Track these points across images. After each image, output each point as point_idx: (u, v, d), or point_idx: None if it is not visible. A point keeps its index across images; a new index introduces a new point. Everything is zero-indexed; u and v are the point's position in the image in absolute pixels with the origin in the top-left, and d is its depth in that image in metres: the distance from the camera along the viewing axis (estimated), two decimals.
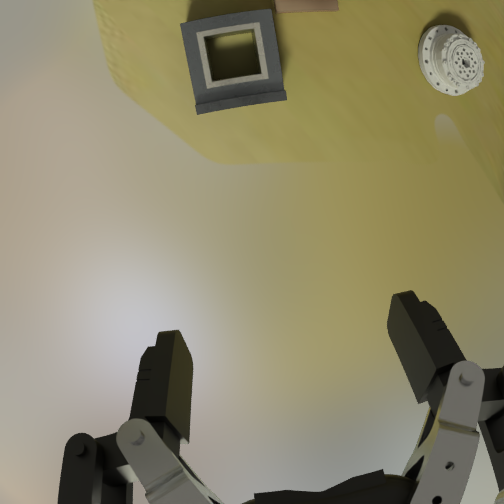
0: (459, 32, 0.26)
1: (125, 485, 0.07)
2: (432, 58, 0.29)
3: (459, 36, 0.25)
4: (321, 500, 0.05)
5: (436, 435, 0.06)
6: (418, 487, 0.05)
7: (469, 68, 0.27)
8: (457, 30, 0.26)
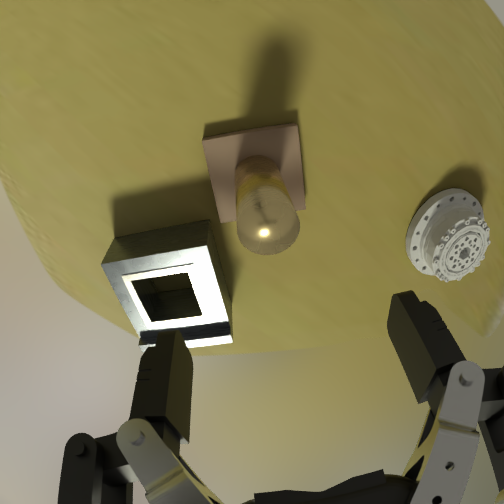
0: (469, 198, 0.26)
1: (125, 485, 0.07)
2: (422, 246, 0.28)
3: (465, 222, 0.24)
4: (321, 500, 0.05)
5: (436, 435, 0.06)
6: (418, 487, 0.05)
7: (467, 258, 0.26)
8: (467, 196, 0.26)
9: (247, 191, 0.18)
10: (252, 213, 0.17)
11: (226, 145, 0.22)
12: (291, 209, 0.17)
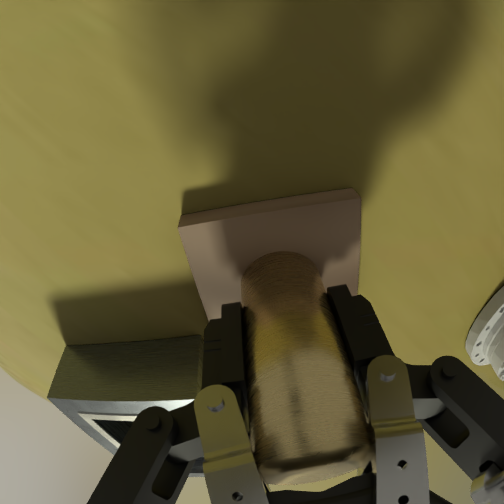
0: None
1: (185, 466, 0.08)
2: (490, 343, 0.17)
3: None
4: (321, 500, 0.05)
5: (375, 440, 0.06)
6: (418, 487, 0.05)
7: None
8: None
9: (273, 390, 0.08)
10: (286, 462, 0.06)
11: (225, 235, 0.12)
12: (368, 447, 0.06)
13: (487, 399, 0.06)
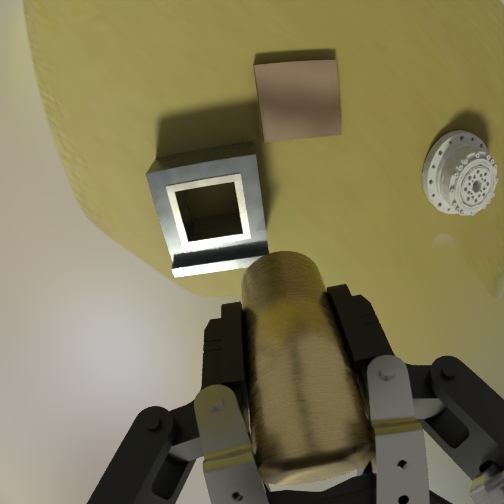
0: (476, 139, 0.27)
1: (185, 466, 0.08)
2: (438, 179, 0.29)
3: (476, 155, 0.25)
4: (321, 500, 0.05)
5: (375, 440, 0.06)
6: (418, 487, 0.05)
7: (479, 192, 0.27)
8: (474, 137, 0.26)
9: (274, 390, 0.08)
10: (287, 462, 0.06)
11: (275, 70, 0.23)
12: (369, 446, 0.06)
13: (487, 399, 0.06)
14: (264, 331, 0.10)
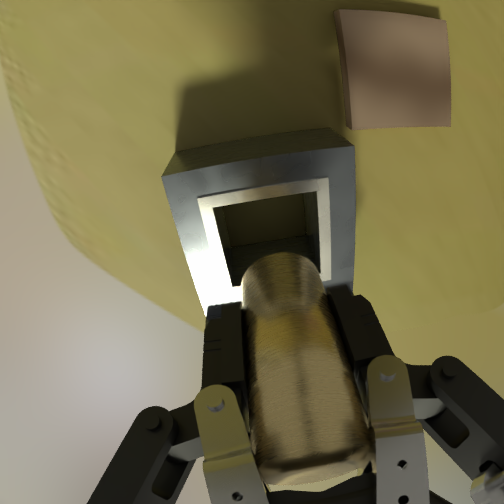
0: None
1: (185, 466, 0.08)
2: None
3: None
4: (321, 500, 0.05)
5: (375, 440, 0.06)
6: (418, 487, 0.05)
7: None
8: None
9: (274, 391, 0.08)
10: (286, 463, 0.06)
11: (370, 21, 0.13)
12: (368, 447, 0.06)
13: (487, 399, 0.06)
14: (263, 332, 0.10)
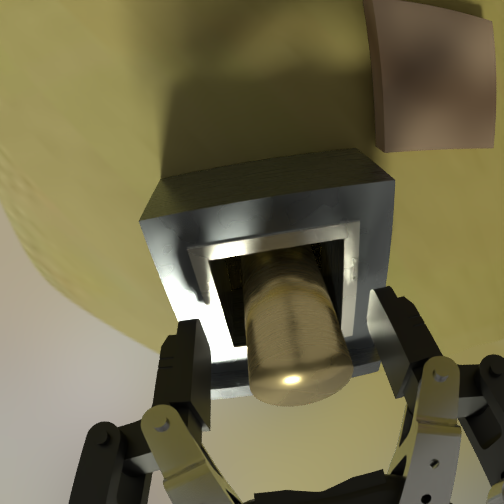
0: None
1: (144, 477, 0.08)
2: None
3: None
4: (321, 500, 0.05)
5: (416, 435, 0.06)
6: (418, 487, 0.05)
7: None
8: None
9: (266, 311, 0.10)
10: (276, 366, 0.09)
11: (409, 15, 0.09)
12: (344, 356, 0.09)
13: None
14: (258, 272, 0.12)
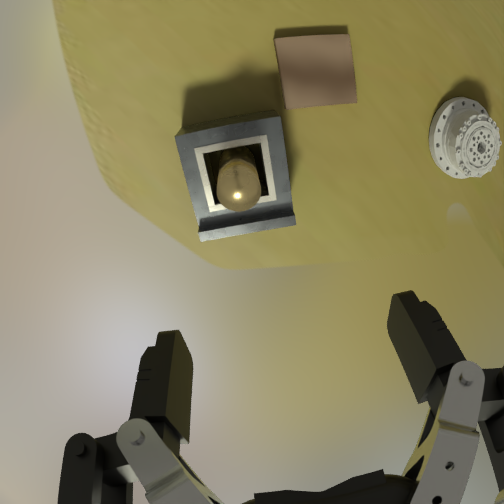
0: (477, 105, 0.26)
1: (125, 485, 0.07)
2: (444, 142, 0.28)
3: (478, 117, 0.25)
4: (321, 500, 0.05)
5: (436, 435, 0.06)
6: (418, 487, 0.05)
7: (484, 153, 0.27)
8: (475, 103, 0.26)
9: (225, 167, 0.25)
10: (226, 180, 0.24)
11: (294, 43, 0.24)
12: (254, 177, 0.24)
13: None
14: (224, 160, 0.27)
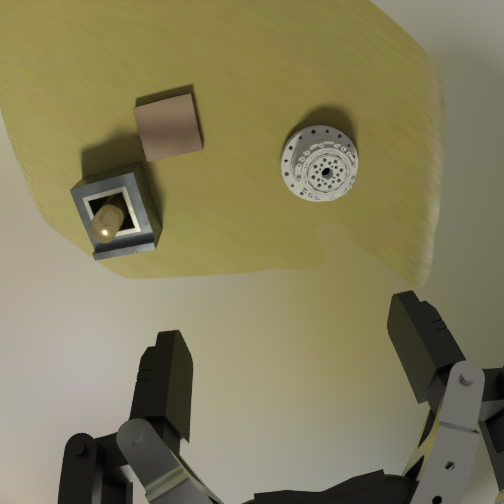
0: (332, 131, 0.35)
1: (125, 485, 0.07)
2: (291, 171, 0.38)
3: (319, 145, 0.34)
4: (321, 500, 0.05)
5: (436, 435, 0.06)
6: (418, 487, 0.05)
7: (332, 178, 0.36)
8: (329, 129, 0.35)
9: (97, 212, 0.34)
10: (93, 223, 0.33)
11: (147, 110, 0.33)
12: (109, 220, 0.33)
13: None
14: (103, 204, 0.36)
